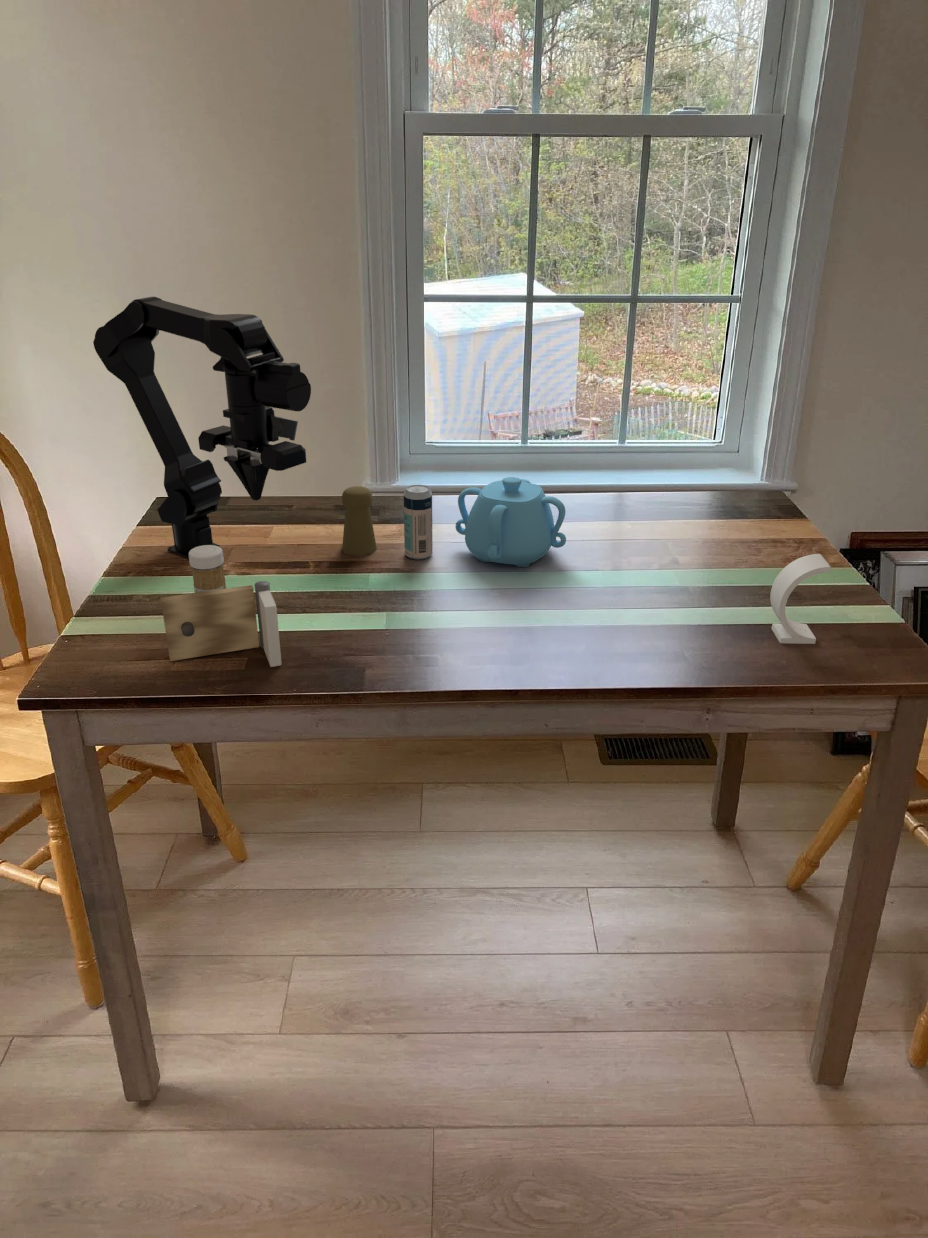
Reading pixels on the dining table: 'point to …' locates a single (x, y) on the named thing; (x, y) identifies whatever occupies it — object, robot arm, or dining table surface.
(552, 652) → the dining table surface
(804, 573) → the headphone stand
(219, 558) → the sprinkles bottle
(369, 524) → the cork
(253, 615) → the door
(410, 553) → the beer can
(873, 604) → the dining table surface
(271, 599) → the door frame
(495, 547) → the decorative pot
